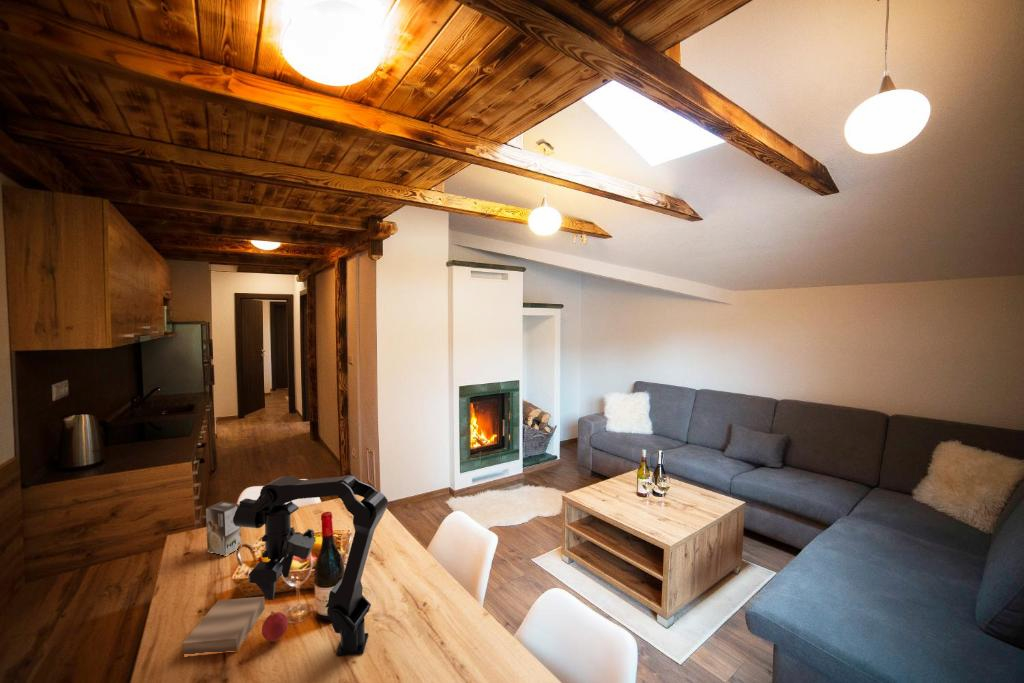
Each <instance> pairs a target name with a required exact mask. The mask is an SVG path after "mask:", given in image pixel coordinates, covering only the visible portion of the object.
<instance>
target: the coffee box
mask: <svg viewBox="0 0 1024 683" xmlns="http://www.w3.org/2000/svg"><path fill="white" fill-rule="evenodd" d="M239 506H240V505H239V503H233V502H227V501H222V500H221V501H220V502H218V503H215V504H213V505H210V506H208V507H206V508H205V515H206V516H205V517H206V518H205V519H206V520H205V521H206V543H207V545H206V547H207V548H206V549H207V552H208V551H209V552H213V553H217V554H222V555H227V554H229V553H231V552H233V551H235V550H236V551H235V552H237V551H238V550H237V548H238V546H239V545H240V544H241V545H242V527H237V526H235V525H234V523H233V517H234V515H235V512H236V510H237V508H238V507H239Z"/></svg>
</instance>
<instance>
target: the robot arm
mask: <svg viewBox="0 0 1024 683" xmlns="http://www.w3.org/2000/svg"><path fill="white" fill-rule="evenodd" d="M356 496H359V497H362V498H363V499H362V500H361V501H360V500H359V499H358V498H357V497H356ZM325 497H338V498H339V499H340V500H341V501H342V503H343V505H344V507H345V510H346V511H347V512H348V513H350V514H351V515H352V516H353V517H352V518H353V519H352V525H353V529H354V533H353V534H354V535H353V539H352V542H351V545H350V549H349V553H348V556H347V560H346V563H345V568H344V571H343V575H342V578H341V579H340V580H339V581H338V582H337V583H336V584H335V586H333V588H332V589H331V590H330V591H329V594H328V600H327V604H326V605H325V608H327V610H326V613H327V617H328V618H329V619H330V622H331V626H332V629H333V630H334V633H335V634H339V635H340V642H339V644H338V646H337V651H336V653H335V656H336V657H342V656H352V655H363V654H364V653H365V648H366V646H367V643H368V639H369V633H368V632H366V631H365V624H366V623H365V620H366V619H365V617H366V615H367V613H369V612H370V610H371V605H372V604H371V603H370V602H369V601H368V600H367V598H366V597H365V596H364V595H363V588H364V587H363V584H362V577H363V574H364V569H365V566H366V563H367V560H368V559H367V558H368V555H369V551H370V549H371V546H372V544H371V543H372V540H373V536H374V535H375V534H374V532H375V530H376V528H377V526H378V525H379V523H380V522H381V520H382V518H383V516H384V513H385V512H386V510H387V508H388V505H389V502H388V500H389V499H388V498H387V497H386V496H385V494H384V493H382V492H380V491H378V490H377V489H376V488H374V486H372V485H370V484H367V483H365V482H364V481H360V480H358V478H357V477H356V476H354V475H350V474H345V475H343V476H333V477H332V476H331V477H323V478H313V479H312V478H311V479H300V478H298V477H296V476H286V475H285V476H284V475H283V476H280V477H278V478H276V479H274V480H273V481H271V482H270V481H269V483H266V484H265V485H263V486H262V488H261V489H260V492H259V496H258V498H257V499H251V498H244V499H242V500H240V501H239V503H238V504H239V505H240V506H239V507H238V508H237V510H236V512H235V515H234V517H233V523H234V525H235V526H237V527H241V528H252V529H260V528H262V527H263V526H264V535H263V536H262V537H261V542H262V543H264V542H265V544H264V546H265V550H263V552H262V554H261V557H262V558H263V559H265V558H267V560H269V561H259V562H258V563H257V564H256V565H255V566H254V567H253V568H252V569H251V571H250V572H249V573H248V583H249V584H255V585H256V586H258V588H259V589H260V591H261V592H262V593H263V595H264V597H266V599H267V600H268V601H273V600H274V598H275V592H276V585H277V582H278V580H280V577H281V576H282V577H283V578H289V576H290V572H291V568H292V564H293V560H294V557H297V558H299V559H301V560H307V559H308V558H309V556H310V554H311V553H312V551H313V548H314V545H315V543H316V542H317V540H316V538H317V537H315V531H314V529H310V528H308V529H307V530H306V531H305V532H303V533H302V532H301V531H299V532H298V531H297V532H296V531H295V530H296V529H295V528H294V527H292V526H291V524H292V523H291V518H292V517H291V515H292V514H293V513H295V512H296V511H298V510H299V509H300V507H299V506H298V505H297V504H296V503H294V502H293V501H295V500H301V499H303V500H305V499H313V498H325Z"/></svg>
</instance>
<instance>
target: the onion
mask: <svg viewBox="0 0 1024 683" xmlns="http://www.w3.org/2000/svg"><path fill="white" fill-rule="evenodd" d="M288 625H289V620H288V618H287V616H286V615H285V614H284V613H283V612H281V611H280V612H279V611H277V610H272V611H271V612H270V614H269V615H268V616H267V617H266V618H265V620H264V621H263V624H262V627H261V635H262V637H263V638H264V639H265V640H267V641H270V642H273V643H275V642H277V641H279V640H280V639H281V638H283V636H284V635H285V633H286V632H287V630H288Z"/></svg>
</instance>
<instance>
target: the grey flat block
mask: <svg viewBox="0 0 1024 683" xmlns="http://www.w3.org/2000/svg"><path fill="white" fill-rule="evenodd" d="M265 606H266V605H265V596H256V597H254V596H253V597H242V598H241V597H240V598H231V599H230V598H229V599H219V600H217V601H216V603H215V604H213V606H212V607H211V608H210V609H209V610H208V612H207V613H206V614H205V616H204V617H203V618H202V619H201V621H200V622H199V623H198V624H197V625H196V626H195V628H194V629H193V630H192V631H191V633H190V634H189V635H188V636H187V637H186V638H185V640H184V641H183V642H182V655H183V654H195V653H204V652H225V651H237V650H238V648H239V647H240V648H241V646H242V645H243V643H244V642H245V640H246V639H245V638H247V637H248V636H249V634H250V632H251V631H252V629H253V628H254V626H255V625H254V624H257V621H258V620H259V618H260V617H261V615H262V614H263V612H264V610H265V609H266V607H265ZM252 627H253V628H252ZM250 630H251V631H250ZM248 633H249V634H248ZM246 636H247V637H246ZM244 639H245V640H244ZM243 641H244V642H243ZM242 642H243V643H242ZM241 644H242V645H241ZM240 645H241V646H240ZM240 648H239V649H240ZM238 651H239V650H238ZM238 651H237V652H238Z"/></svg>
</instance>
